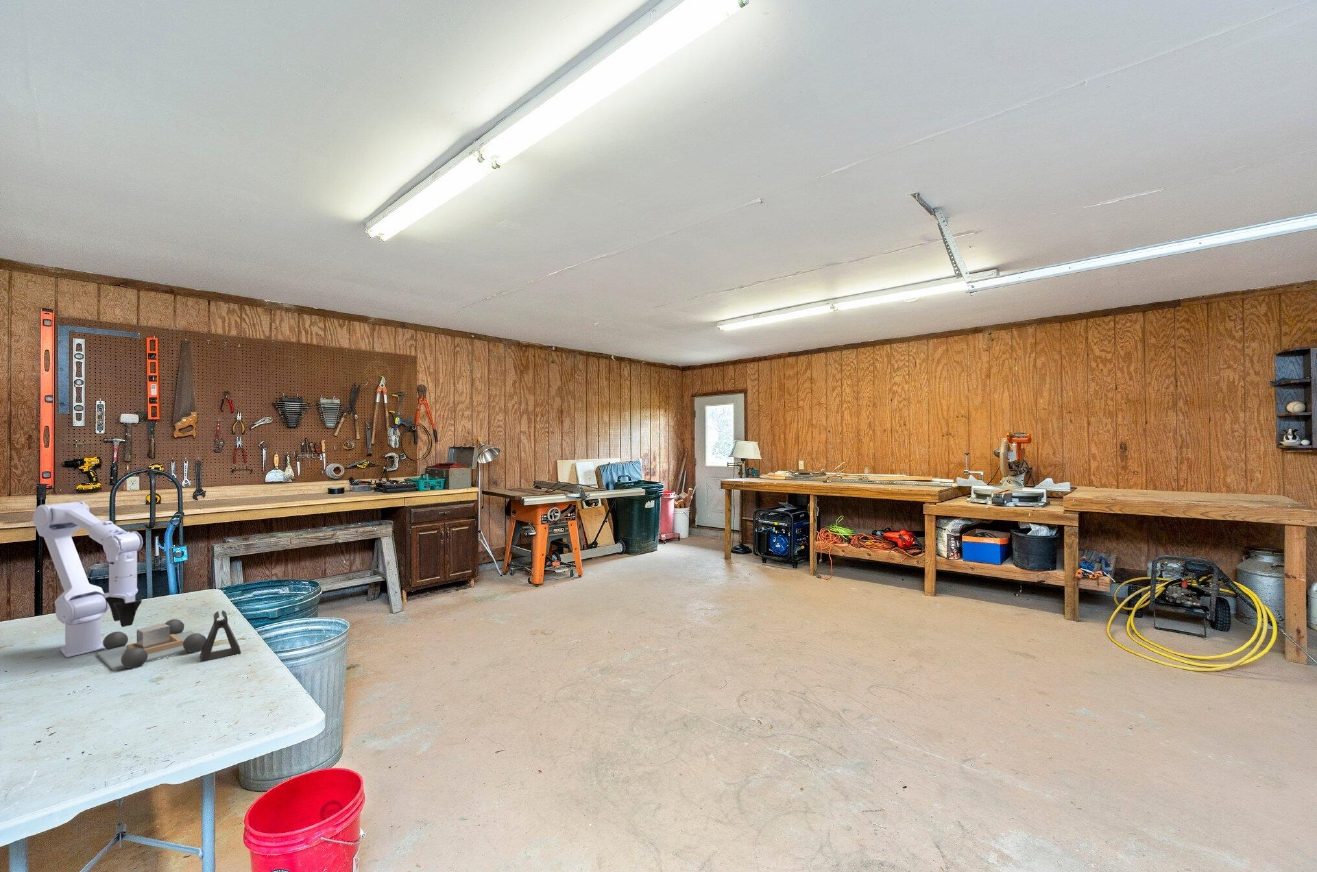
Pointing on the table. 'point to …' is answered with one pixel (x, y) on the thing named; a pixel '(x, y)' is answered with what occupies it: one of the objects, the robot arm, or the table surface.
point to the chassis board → (135, 657)
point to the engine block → (153, 636)
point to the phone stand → (208, 645)
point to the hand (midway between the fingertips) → (123, 623)
